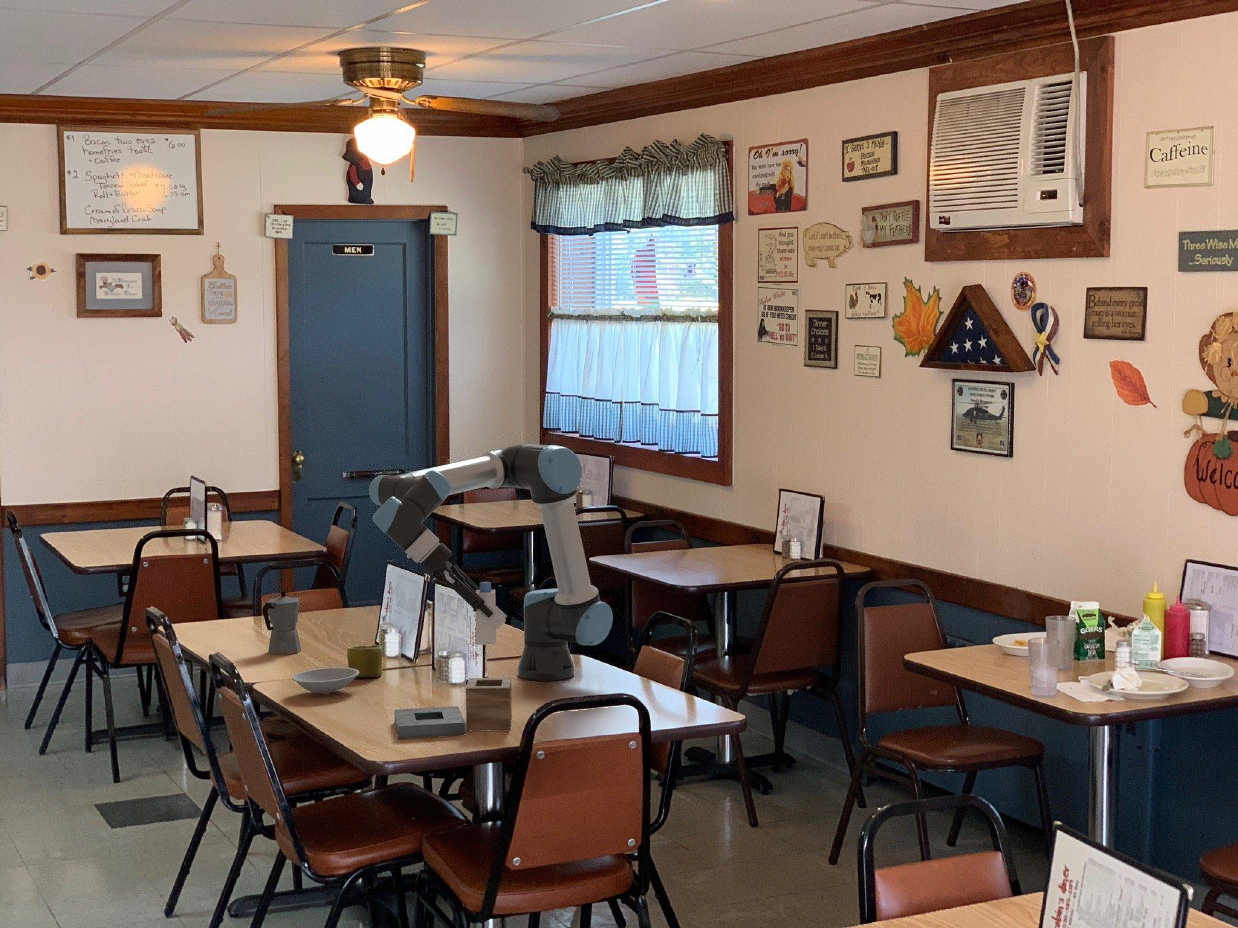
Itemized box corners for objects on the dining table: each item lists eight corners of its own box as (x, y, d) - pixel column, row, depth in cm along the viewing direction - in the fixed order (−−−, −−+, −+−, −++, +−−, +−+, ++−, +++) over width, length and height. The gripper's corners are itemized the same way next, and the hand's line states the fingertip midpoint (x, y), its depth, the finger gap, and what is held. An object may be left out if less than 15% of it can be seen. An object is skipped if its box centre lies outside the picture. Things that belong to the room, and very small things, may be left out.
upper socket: (469, 719, 336) (468, 678, 336) (511, 719, 337) (511, 677, 336) (466, 731, 326) (465, 688, 326) (510, 730, 327) (509, 687, 326)
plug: (477, 640, 332) (476, 581, 330) (496, 640, 332) (495, 581, 330) (476, 644, 327) (475, 584, 326) (495, 644, 327) (494, 584, 326)
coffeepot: (286, 645, 419) (285, 585, 417) (312, 648, 415) (311, 588, 413) (251, 656, 405) (249, 593, 404) (277, 659, 401) (275, 596, 400)
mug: (379, 674, 374) (371, 638, 376) (345, 685, 376) (336, 648, 378) (398, 673, 386) (390, 637, 388) (365, 683, 388) (356, 647, 390)
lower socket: (458, 718, 338) (458, 705, 337) (464, 735, 323) (464, 722, 323) (394, 721, 334) (394, 709, 334) (398, 739, 320) (398, 726, 320)
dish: (309, 704, 351) (308, 684, 350) (281, 694, 361) (280, 674, 361) (371, 693, 362) (370, 673, 362) (342, 683, 373) (341, 664, 373)
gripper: (421, 558, 336) (493, 626, 338) (414, 570, 319) (489, 642, 321) (444, 536, 336) (515, 604, 338) (437, 547, 318) (512, 618, 320)
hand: (502, 622), depth 329 cm, fingers closed on plug, 4 cm apart
